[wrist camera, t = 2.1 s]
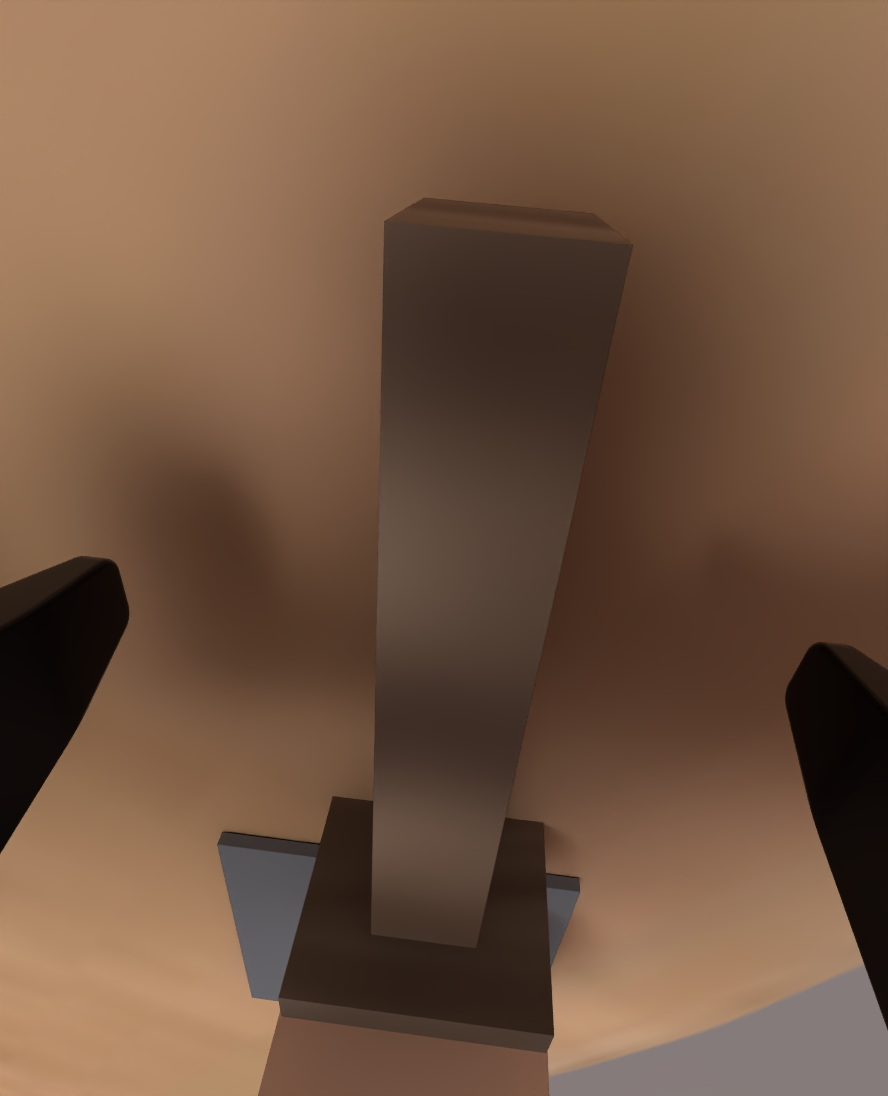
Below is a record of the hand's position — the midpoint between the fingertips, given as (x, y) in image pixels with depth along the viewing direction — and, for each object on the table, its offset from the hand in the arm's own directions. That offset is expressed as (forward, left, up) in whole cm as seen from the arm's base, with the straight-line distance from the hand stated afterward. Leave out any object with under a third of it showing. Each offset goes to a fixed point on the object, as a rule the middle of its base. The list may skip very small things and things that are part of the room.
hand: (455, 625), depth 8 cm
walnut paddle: (0, -3, -4) cm, 5 cm away
